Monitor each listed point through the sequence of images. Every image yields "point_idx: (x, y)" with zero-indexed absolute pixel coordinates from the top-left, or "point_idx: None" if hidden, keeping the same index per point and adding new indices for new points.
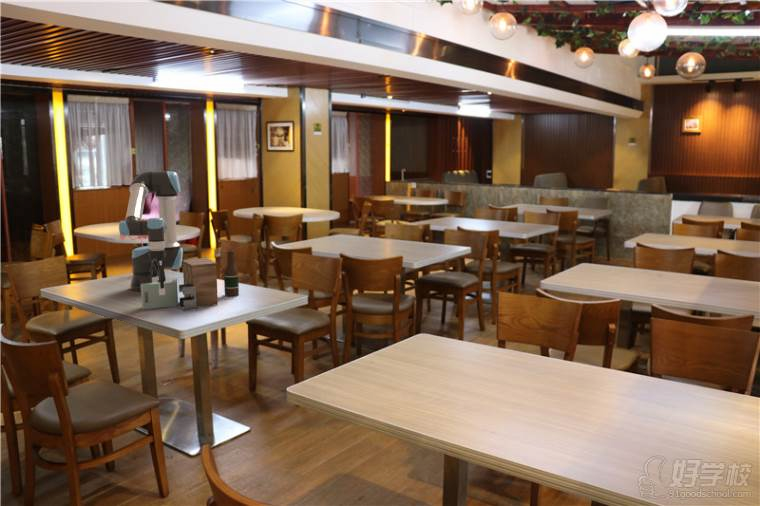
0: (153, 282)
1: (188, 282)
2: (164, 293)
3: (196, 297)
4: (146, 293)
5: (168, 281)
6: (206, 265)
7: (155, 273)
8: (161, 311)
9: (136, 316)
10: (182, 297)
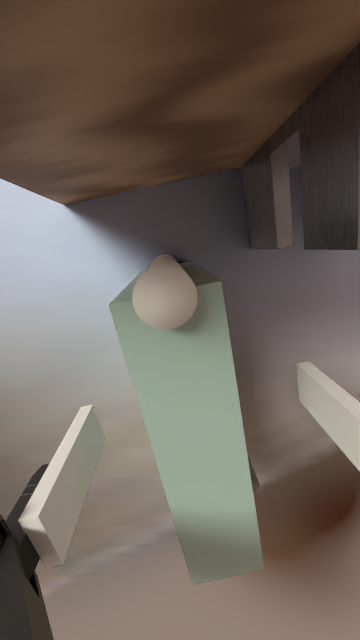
0: (171, 505)
1: (205, 81)
2: (313, 369)
3: None
4: (255, 477)
5: (164, 371)
6: None
7: (36, 611)
8: (292, 344)
9: (331, 439)
10: (280, 223)
